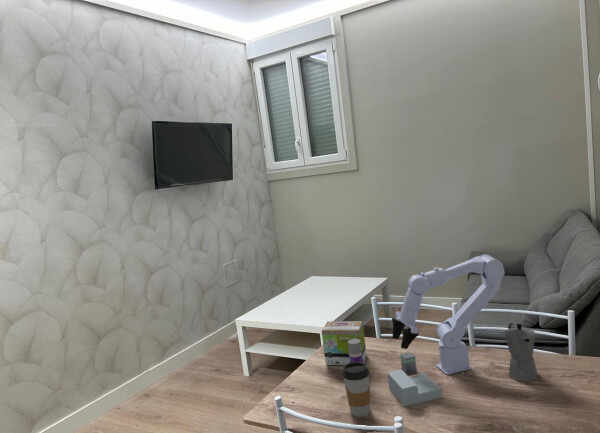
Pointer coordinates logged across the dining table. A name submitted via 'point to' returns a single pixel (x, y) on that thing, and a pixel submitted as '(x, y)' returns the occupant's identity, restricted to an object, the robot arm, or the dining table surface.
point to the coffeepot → (521, 353)
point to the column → (408, 363)
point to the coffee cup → (357, 388)
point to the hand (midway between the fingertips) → (399, 343)
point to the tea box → (341, 340)
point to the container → (355, 350)
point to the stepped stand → (413, 387)
